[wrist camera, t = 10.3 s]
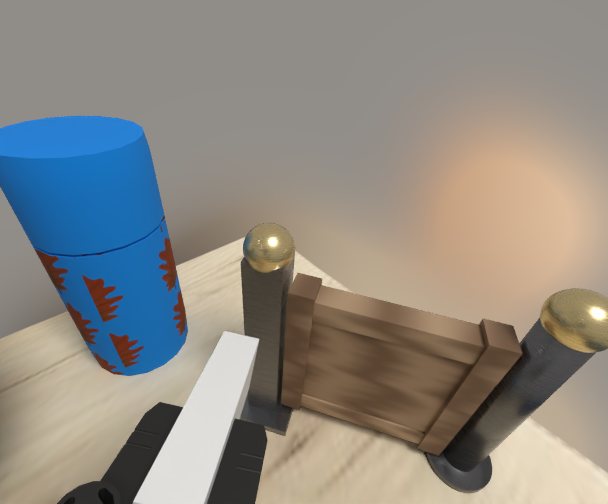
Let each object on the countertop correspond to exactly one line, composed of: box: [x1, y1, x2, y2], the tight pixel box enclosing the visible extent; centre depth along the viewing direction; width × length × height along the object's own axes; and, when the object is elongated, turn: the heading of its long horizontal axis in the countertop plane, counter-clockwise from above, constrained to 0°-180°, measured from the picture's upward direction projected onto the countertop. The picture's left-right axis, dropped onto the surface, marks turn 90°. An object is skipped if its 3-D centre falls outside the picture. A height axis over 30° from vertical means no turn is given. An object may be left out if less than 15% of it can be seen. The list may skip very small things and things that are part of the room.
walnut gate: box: [281, 273, 522, 456], centre depth 27 cm, size 16×2×16 cm, turn 74°
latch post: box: [240, 223, 295, 436], centre depth 28 cm, size 6×6×22 cm
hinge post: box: [425, 288, 608, 493], centre depth 24 cm, size 6×6×22 cm
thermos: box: [0, 116, 188, 376], centre depth 32 cm, size 11×11×25 cm
